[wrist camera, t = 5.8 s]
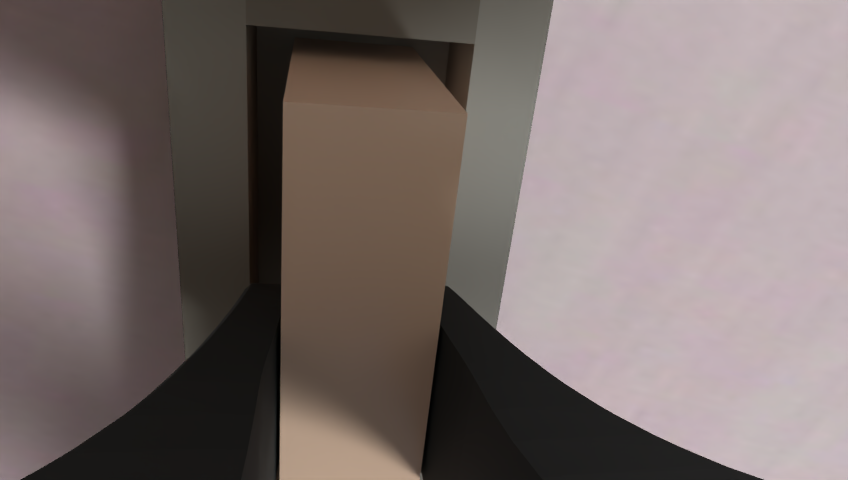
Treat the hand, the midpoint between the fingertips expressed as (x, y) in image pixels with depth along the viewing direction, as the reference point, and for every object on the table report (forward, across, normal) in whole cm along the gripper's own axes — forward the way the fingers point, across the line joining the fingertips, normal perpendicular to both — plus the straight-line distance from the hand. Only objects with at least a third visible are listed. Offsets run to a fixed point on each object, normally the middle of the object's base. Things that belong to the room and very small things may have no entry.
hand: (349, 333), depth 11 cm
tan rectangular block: (+3, 0, -1) cm, 3 cm away
